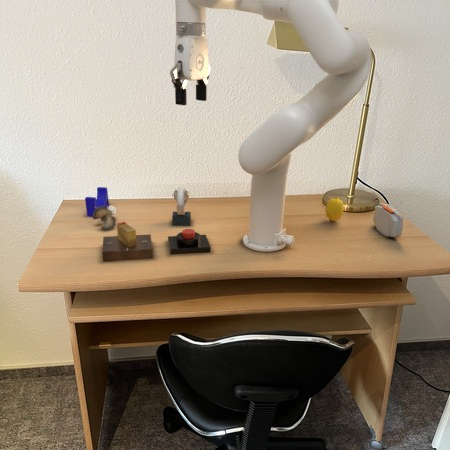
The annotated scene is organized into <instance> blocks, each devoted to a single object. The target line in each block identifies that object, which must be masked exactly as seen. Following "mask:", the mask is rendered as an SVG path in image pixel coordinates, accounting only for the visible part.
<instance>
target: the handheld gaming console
mask: <svg viewBox="0 0 450 450" xmlns="http://www.w3.org/2000/svg"><path fill="white" fill-rule="evenodd" d="M372 221H373V223H374V225H375V229H376V230H377V231H378V232H379V233H381V234H382V235H383V236H385V237H391V238H400V237H401V236H402V234H403V227H404V217H403V216H402V214H401V213H400V211H399V210H398V209H396V208H394V207H393V206H391V205H390V204H388V203H384V202H380V203H378V205H375V206H374V212H373V216H372Z"/></svg>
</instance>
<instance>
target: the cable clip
mask: <svg viewBox="0 0 450 450" xmlns="http://www.w3.org/2000/svg"><path fill="white" fill-rule="evenodd" d="M108 192H109V191H108V187H107V186H106V187H104V186H98V187H96V197H95V196H86V197H85V198H84V202H85V209H86V217H90V218H93V213H94V210H95V209H96V208H95V207H94V206H96V207H99V206H100V207H102V206H103V207H104V206H105V207H106V209H107V208H108V207H109V206H110V201H109V193H108Z"/></svg>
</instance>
